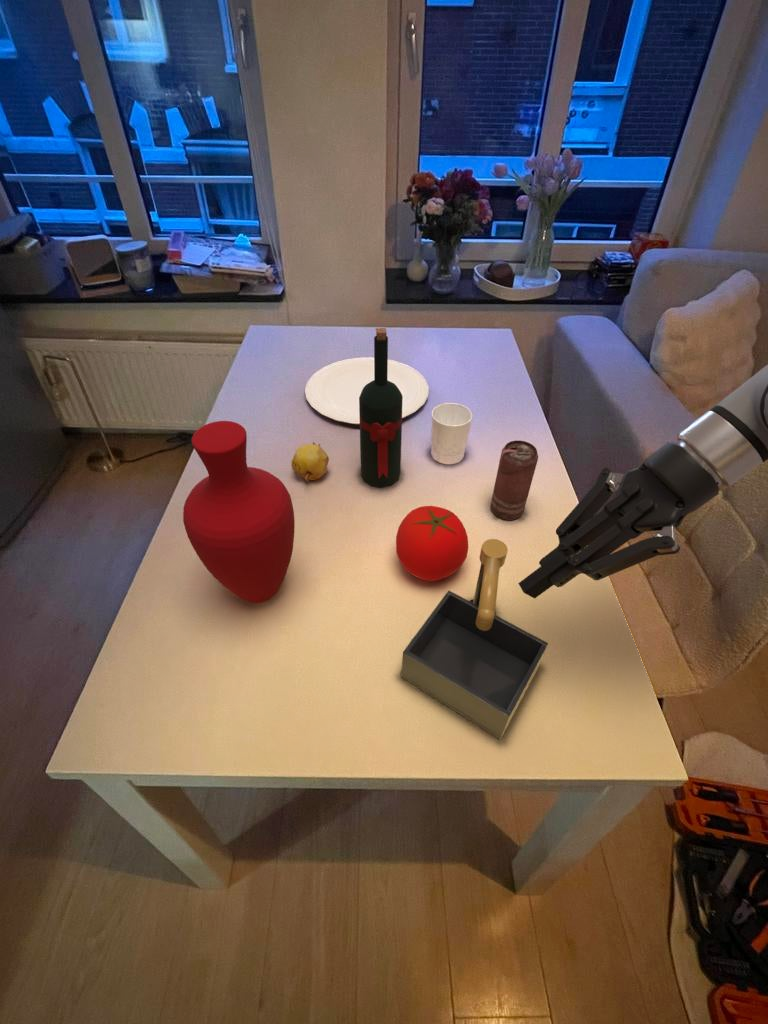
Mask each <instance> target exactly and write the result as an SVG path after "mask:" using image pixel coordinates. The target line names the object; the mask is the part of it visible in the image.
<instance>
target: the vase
mask: <svg viewBox="0 0 768 1024" xmlns="http://www.w3.org/2000/svg"><path fill="white" fill-rule="evenodd" d="M247 441H248V435H247V430H246V428H245V427H244V426H243V425H242V424H240V423H238V422H236V421H231V420H217V421H213V422H209V423H206V424H204V425H202V426H200V427H199V428H198V429H197V430H196V431H195V432H194V433H193V435H192V437H191V444H192V447H193V449H194V450H195V452H196V454H197V455H198V457H199V458H200V460H201V463H203V465H204V467H205V469H206V471H207V474H208V475H207V476H206V477H204V478H202V479H201V480H200V481H199V482H198V483H197V484H195V486H194V487H193V488H192V489H191V491H190V492H189V494H188V495H187V497H186V499H185V502H184V505H183V510H182V511H183V513H182V522H183V525H184V529H185V532H186V535H187V539H188V540H189V542H190V545H191V546H192V549H193V551H194V552H195V553H196V555H197V557H198V558H199V560H200V561H201V563H202V564H203V565H204V567H205V568H206V570H207V571H208V572H209V574H211V576H212V577H213V578H214V579H215V580H216V581H217V582H218V583H220V584H221V585H222V586H223V587H224V588H225V589H226V590H227V591H229V592H230V593H231V594H233V595H235V596H236V597H238V598H239V599H240V600H242V601H244V602H246V603H250V604H260V603H264V602H267V601H269V600H270V599H272V598H273V597H274V596H275V595H277V593H278V592H279V590H280V588H281V586H282V584H283V582H284V580H285V577H286V575H287V572H288V569H289V566H290V563H291V560H292V556H293V550H294V542H295V521H296V520H295V511H294V505H293V501H292V497H291V494H290V492H289V491H288V489H287V487H286V486H285V484H284V482H283V481H282V480H281V479H280V478H278V477H277V476H275V475H274V474H273V473H271V472H269V471H267V470H265V469H261V468H258V467H250V466H248V461H247V444H248V443H247Z"/></svg>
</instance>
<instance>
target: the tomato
mask: <svg viewBox="0 0 768 1024" xmlns="http://www.w3.org/2000/svg"><path fill="white" fill-rule="evenodd" d="M395 549H396V552H395V553H396V555H397V558H398V560H399V562H400V564H401V565H402V566H403V567H404V569H406V571H407V572H408V573H410V574H411V575H413V576H414V577H416V578H418V579H421V580H424V581H430V582H431V581H432V582H434V581H439V580H443V579H445V578H447V577H450V576H452V574H454V573H455V572H457V571H458V570H459V569H460V568H461V567H462V565H463V564H464V562H465V560H466V559H467V556H468V552H469V537H468V533H467V530H466V528H465V526H464V524H463V522H462V521H461V520H460V518H459V517H458V516H457V515H456V514H455V513H454V512H453V511H451V510H450V509H447V508H444V507H441V506H435V505H422V506H419V507H416V508H414V509H412V510H411V511H410V512H408V513H407V514H406V515H405V517H404V518H403V520H402V521H401V522H400V524H399V526H398V528H397V532H396V536H395Z"/></svg>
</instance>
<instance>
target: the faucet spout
mask: <svg viewBox="0 0 768 1024" xmlns="http://www.w3.org/2000/svg"><path fill="white" fill-rule="evenodd" d="M508 550H509V549H508V546H507V544H505V542H504V541H502V540H500V539H496V538H489V539H486V540H485V541H483V542H482V544H481V549H480V553H479V562H480V564H481V563H482V564H483V565H484V571H483V579H482V586H481V593H480V601H479V608H478V614H477V619H476V626H477V627H478V628H479V629H480V630H483V631H487V630H489V629H490V628H491V627H492V623H493V620H494V616H495V612H496V605H497V598H498V597H497V595H498V587H499V576H500V570H501V567H503V566H504V565H505V563H506V558H507V555H508ZM499 569H500V570H499Z"/></svg>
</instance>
